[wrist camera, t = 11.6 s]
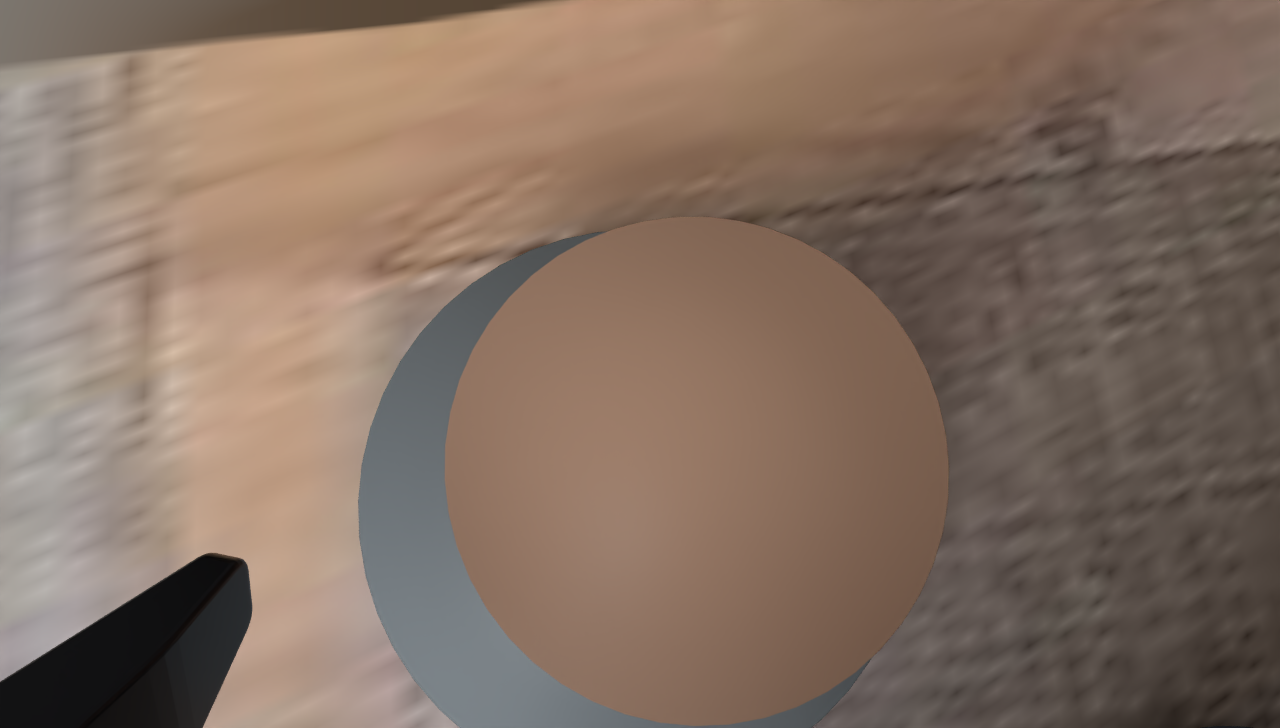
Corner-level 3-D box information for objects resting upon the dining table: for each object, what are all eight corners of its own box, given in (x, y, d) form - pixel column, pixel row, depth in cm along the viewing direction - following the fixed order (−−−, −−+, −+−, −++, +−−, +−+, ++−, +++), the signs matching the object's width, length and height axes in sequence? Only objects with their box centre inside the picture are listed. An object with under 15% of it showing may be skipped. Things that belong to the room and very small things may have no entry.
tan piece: (769, 602, 18) (988, 695, 8) (534, 626, 17) (457, 755, 8) (742, 372, 19) (907, 201, 9) (518, 390, 18) (432, 233, 8)
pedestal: (954, 444, 22) (1011, 431, 19) (692, 861, 19) (709, 920, 16) (583, 184, 22) (581, 132, 20) (289, 554, 20) (238, 559, 17)
